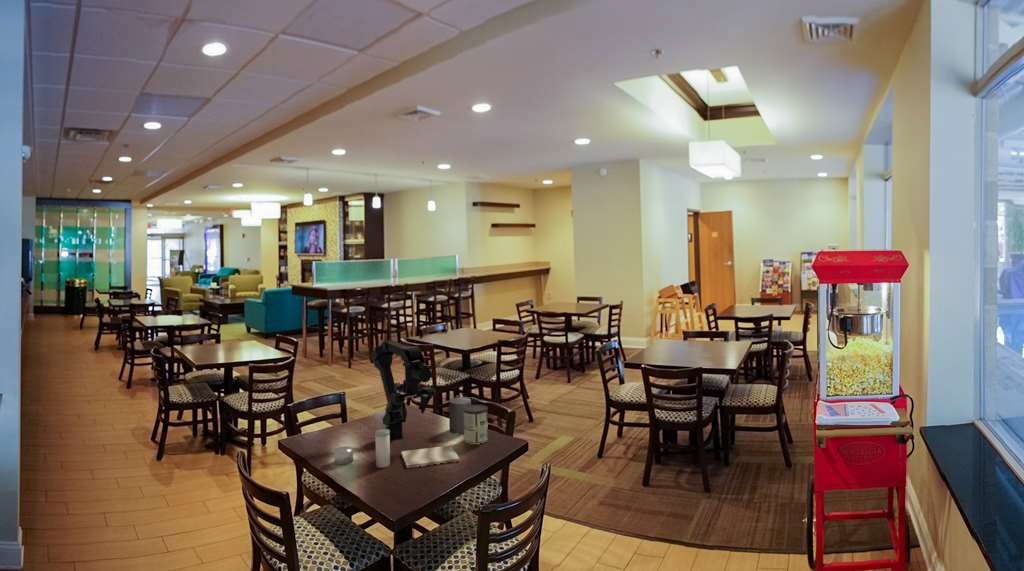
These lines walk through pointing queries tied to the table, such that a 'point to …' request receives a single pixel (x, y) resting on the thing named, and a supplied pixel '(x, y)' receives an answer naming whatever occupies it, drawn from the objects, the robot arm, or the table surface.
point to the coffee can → (475, 424)
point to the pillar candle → (457, 414)
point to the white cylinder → (382, 447)
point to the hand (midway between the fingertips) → (412, 415)
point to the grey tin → (343, 455)
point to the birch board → (429, 456)
